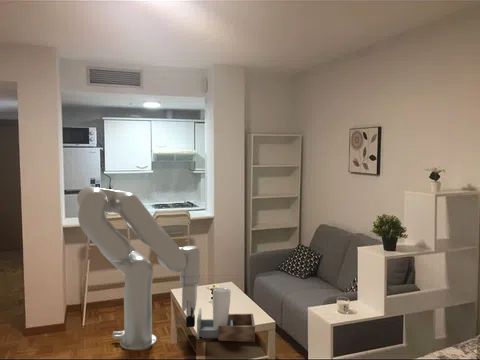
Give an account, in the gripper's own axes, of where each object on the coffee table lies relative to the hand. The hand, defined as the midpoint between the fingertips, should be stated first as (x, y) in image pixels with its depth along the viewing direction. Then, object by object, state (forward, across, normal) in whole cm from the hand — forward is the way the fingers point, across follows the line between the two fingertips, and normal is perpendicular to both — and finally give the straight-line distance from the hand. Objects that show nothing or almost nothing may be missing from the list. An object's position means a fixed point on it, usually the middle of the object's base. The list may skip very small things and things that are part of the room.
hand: (190, 326), depth 153 cm
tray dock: (+4, 0, +18) cm, 18 cm away
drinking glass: (+2, 0, +11) cm, 11 cm away
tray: (+2, 0, +10) cm, 10 cm away
